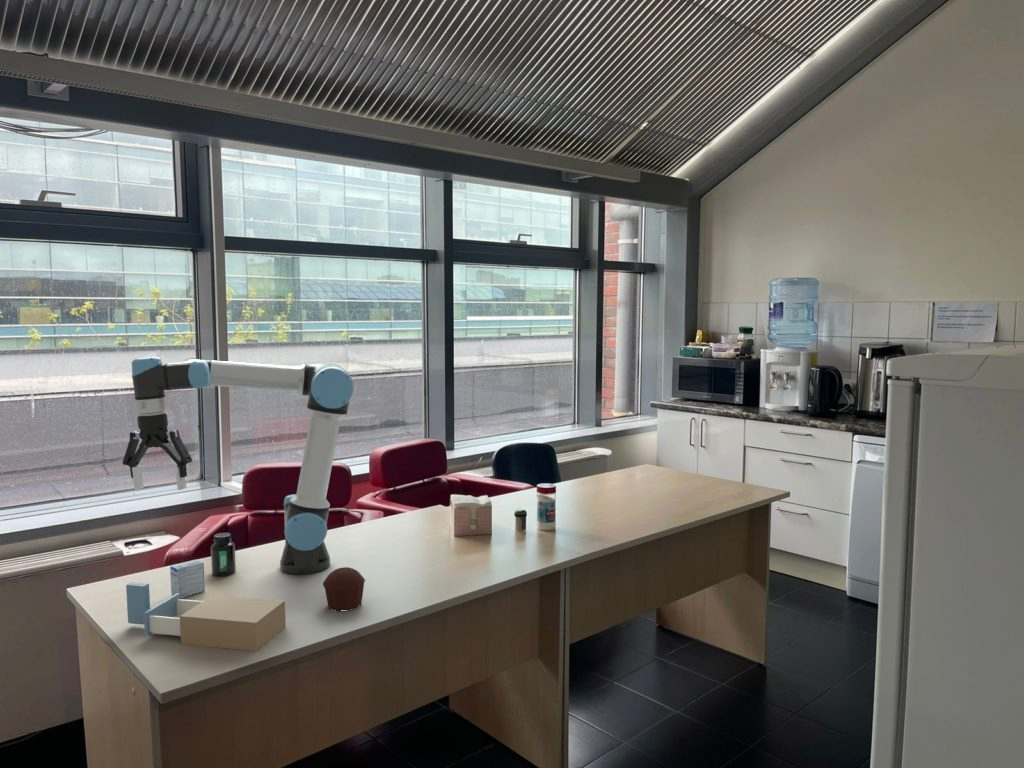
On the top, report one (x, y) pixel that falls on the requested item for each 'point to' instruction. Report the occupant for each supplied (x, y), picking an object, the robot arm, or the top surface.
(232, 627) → the drawer cabinet
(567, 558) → the top surface
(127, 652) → the top surface
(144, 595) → the blue-handled drawer
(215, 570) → the supplement bottle
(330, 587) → the muffin
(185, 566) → the medicine box
